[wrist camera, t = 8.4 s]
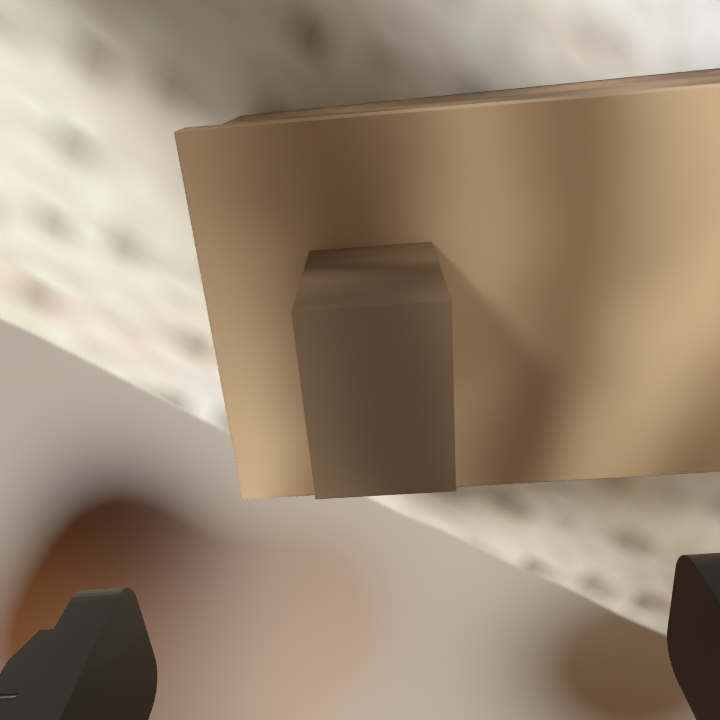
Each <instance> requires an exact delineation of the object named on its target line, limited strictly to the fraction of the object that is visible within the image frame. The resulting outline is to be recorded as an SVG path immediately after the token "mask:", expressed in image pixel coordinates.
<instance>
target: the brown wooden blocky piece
mask: <svg viewBox="0 0 720 720" xmlns="http://www.w3.org/2000/svg"><path fill="white" fill-rule="evenodd" d="M718 83H720V68H718V69H708V70H698V71H688V72H678V73H668V74H658V75H647V76H637V77H627V78H617V79H607V80H597V81H587V82H577V83H567V84H557V85H547V86H537V87H527V88H517V89H507V90H497V91H487V92H477V93H467V94H456V95H446V96H436V97H426V98H416V99H406V100H396V101H386V102H376V103H366V104H356V105H346V106H336V107H326V108H316V109H306V110H296V111H286V112H276V113H265V114H255V115H245V116H239V117H237V118H235V119H233V120H231V121H228V122H226V123H224V124H236V123H248V122H260V121H272V120H284V119H296V118H308V117H320V116H332V115H344V114H356V113H368V112H380V111H393V110H405V109H417V108H429V107H441V106H453V105H465V104H477V103H489V102H501V101H513V100H525V99H537V98H549V97H561V96H573V95H585V94H597V93H609V92H622V91H634V90H646V89H658V88H670V87H682V86H694V85H706V84H718ZM224 124H222V125H224Z"/></svg>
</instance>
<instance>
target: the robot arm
mask: <svg viewBox="0 0 720 720" xmlns="http://www.w3.org/2000/svg"><path fill="white" fill-rule="evenodd" d="M667 644H668V652H669V657H670V661H671V665H672V668H673V671H674V674H675V676H676V679H677V681H678V683H679V685H680V687H681V689H682V691H683V693H684V695H685V697H686V699H687V701H688V703H689V705H690V707H691V709H692V712H693V714H694V716H695V718H696V720H720V553H711V554H695V555H682V556H680V557H679V559H678V561H677V563H676V569H675V576H674V584H673V592H672V599H671V607H670V615H669V622H668V630H667ZM156 688H157V665H156V660H155V656H154V653H153V650H152V646H151V643H150V640H149V636H148V633H147V630H146V627H145V623H144V620H143V617H142V614H141V611H140V607H139V604H138V601H137V598H136V595H135V593H134V592H133V590H131V589H130V588H120V589H102V590H86V591H79V592H77V593H76V594H74V596H73V597H72V598H71V600H70V601H69V603H68V605H67V607H66V608H65V610H64V612H63V614H62V616H61V617H60V619H59V621H58V623H57V624H56V626H55V628H54V629H51V630H39V632H37V633H36V634H35V635H34V636H33V637H32V638H31V639H30V640H29V641H28V642H27V643H26V644H25V645H24V646H23V647H22V648H21V649H20V650H19V651H18V652H17V653H15V654H14V655H13V657H11V658H10V659H9V660H8V662H7V663H6V665H5V667H4V668H3V670H2V672H1V673H0V720H148V719H149V716H150V713H151V710H152V707H153V703H154V700H155V694H156Z"/></svg>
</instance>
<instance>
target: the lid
mask: <svg viewBox="0 0 720 720" xmlns="http://www.w3.org/2000/svg"><path fill="white" fill-rule="evenodd" d="M174 134H175V139H176V144H177V150H178V155H179V160H180V166H181V171H182V177H183V182H184V187H185V193H186V198H187V203H188V209H189V214H190V219H191V225H192V230H193V236H194V241H195V246H196V252H197V257H198V262H199V268H200V273H201V279H202V284H203V289H204V295H205V300H206V305H207V311H208V316H209V321H210V327H211V332H212V338H213V343H214V348H215V354H216V359H217V364H218V370H219V375H220V381H221V386H222V391H223V397H224V402H225V407H226V413H227V418H228V424H229V429H230V434H231V440H232V445H233V450H234V455H235V461H236V466H237V471H238V477H239V482H240V488H241V493H242V498H243V499H257V498H275V497H291V496H309V495H315V499H328V498H345V497H362V496H379V495H397V494H414V493H431V492H448V491H456V487H463V486H480V485H497V484H514V483H531V482H548V481H565V480H582V479H600V478H617V477H634V476H651V475H668V474H685V473H702V472H719V471H720V83H718V84H706V85H694V86H682V87H670V88H658V89H646V90H634V91H622V92H609V93H597V94H585V95H573V96H561V97H549V98H537V99H525V100H513V101H501V102H489V103H477V104H465V105H453V106H441V107H429V108H417V109H405V110H393V111H380V112H368V113H356V114H344V115H332V116H320V117H308V118H296V119H284V120H272V121H260V122H248V123H236V124H224V125H212V126H200V127H188V128H183V129H181V130H178V131H176V132H174Z"/></svg>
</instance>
